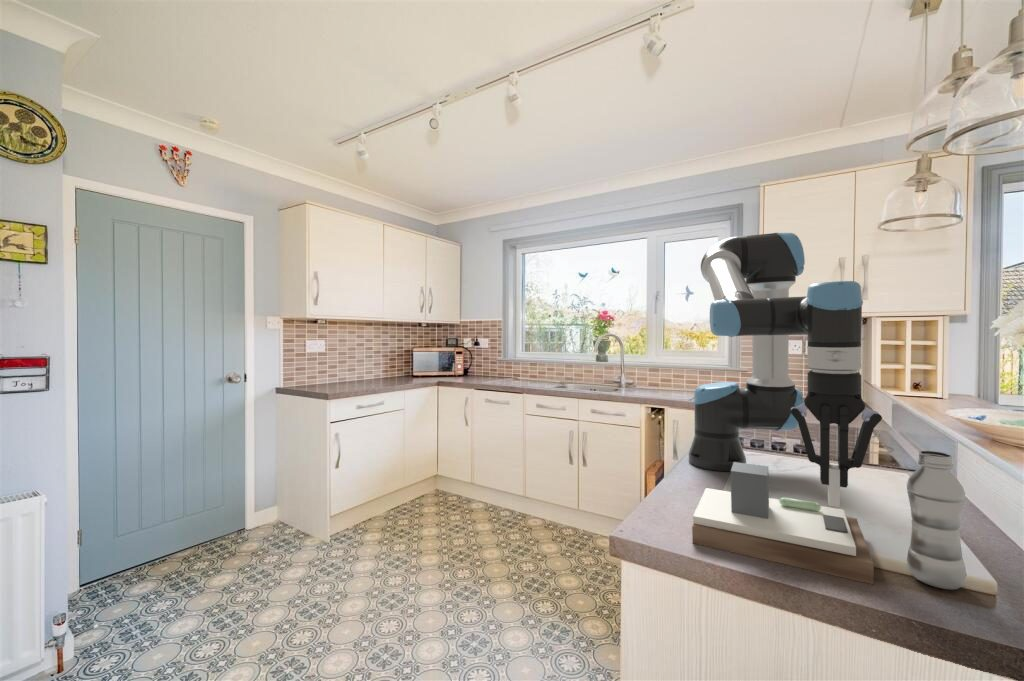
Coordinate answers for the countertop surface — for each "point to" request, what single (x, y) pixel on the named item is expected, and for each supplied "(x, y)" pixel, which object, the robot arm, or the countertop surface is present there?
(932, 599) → the countertop surface
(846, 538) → the plate
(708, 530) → the walnut base
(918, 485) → the plastic bottle
